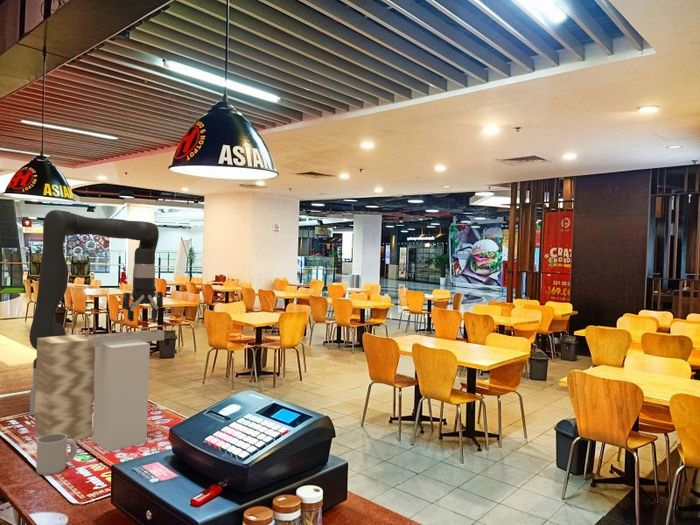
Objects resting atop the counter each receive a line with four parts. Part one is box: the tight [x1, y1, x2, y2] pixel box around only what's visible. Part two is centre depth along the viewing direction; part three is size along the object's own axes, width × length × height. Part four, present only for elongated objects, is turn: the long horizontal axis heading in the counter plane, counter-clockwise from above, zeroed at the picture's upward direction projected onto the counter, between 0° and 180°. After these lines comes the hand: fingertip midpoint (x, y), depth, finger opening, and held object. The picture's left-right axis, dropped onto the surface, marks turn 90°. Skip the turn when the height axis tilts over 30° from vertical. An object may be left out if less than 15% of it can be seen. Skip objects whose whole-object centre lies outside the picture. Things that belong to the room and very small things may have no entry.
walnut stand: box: [33, 334, 95, 441], centre depth 170 cm, size 13×13×32 cm
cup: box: [35, 434, 78, 476], centre depth 145 cm, size 7×10×9 cm
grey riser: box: [92, 342, 151, 453], centre depth 167 cm, size 12×12×32 cm
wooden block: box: [87, 329, 165, 347], centre depth 168 cm, size 23×4×3 cm, turn 137°
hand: (142, 320), depth 190 cm, fingers open, 8 cm apart
